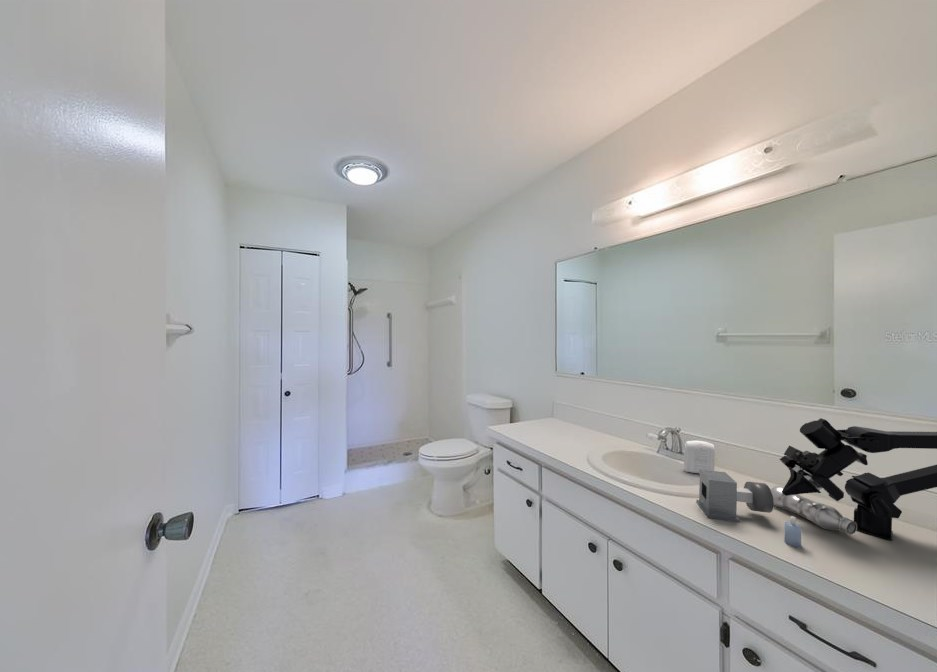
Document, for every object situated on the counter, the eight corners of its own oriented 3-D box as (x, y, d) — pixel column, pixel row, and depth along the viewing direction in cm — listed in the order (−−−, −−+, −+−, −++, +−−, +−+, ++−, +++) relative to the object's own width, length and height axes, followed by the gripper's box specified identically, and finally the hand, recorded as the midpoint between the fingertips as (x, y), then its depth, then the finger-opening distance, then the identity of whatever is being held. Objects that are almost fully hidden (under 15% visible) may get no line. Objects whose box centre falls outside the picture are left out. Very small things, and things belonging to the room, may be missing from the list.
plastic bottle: (785, 495, 113) (865, 529, 94) (770, 508, 112) (848, 545, 93) (776, 479, 113) (855, 510, 93) (761, 492, 112) (838, 526, 92)
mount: (725, 505, 111) (725, 471, 111) (739, 522, 101) (740, 484, 101) (696, 502, 113) (696, 468, 113) (708, 517, 103) (708, 481, 103)
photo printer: (712, 471, 137) (712, 440, 137) (716, 476, 133) (716, 444, 133) (682, 468, 140) (682, 438, 140) (685, 472, 136) (685, 441, 136)
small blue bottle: (802, 544, 91) (802, 517, 91) (799, 549, 89) (800, 521, 89) (785, 538, 93) (786, 512, 93) (783, 543, 91) (783, 516, 91)
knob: (759, 504, 107) (759, 478, 107) (773, 518, 100) (774, 490, 100) (710, 498, 111) (710, 473, 111) (720, 511, 103) (720, 484, 103)
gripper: (788, 429, 109) (745, 460, 113) (830, 449, 92) (778, 485, 95) (818, 457, 107) (774, 488, 111) (868, 483, 90) (813, 519, 93)
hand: (783, 493), depth 102 cm, fingers closed
